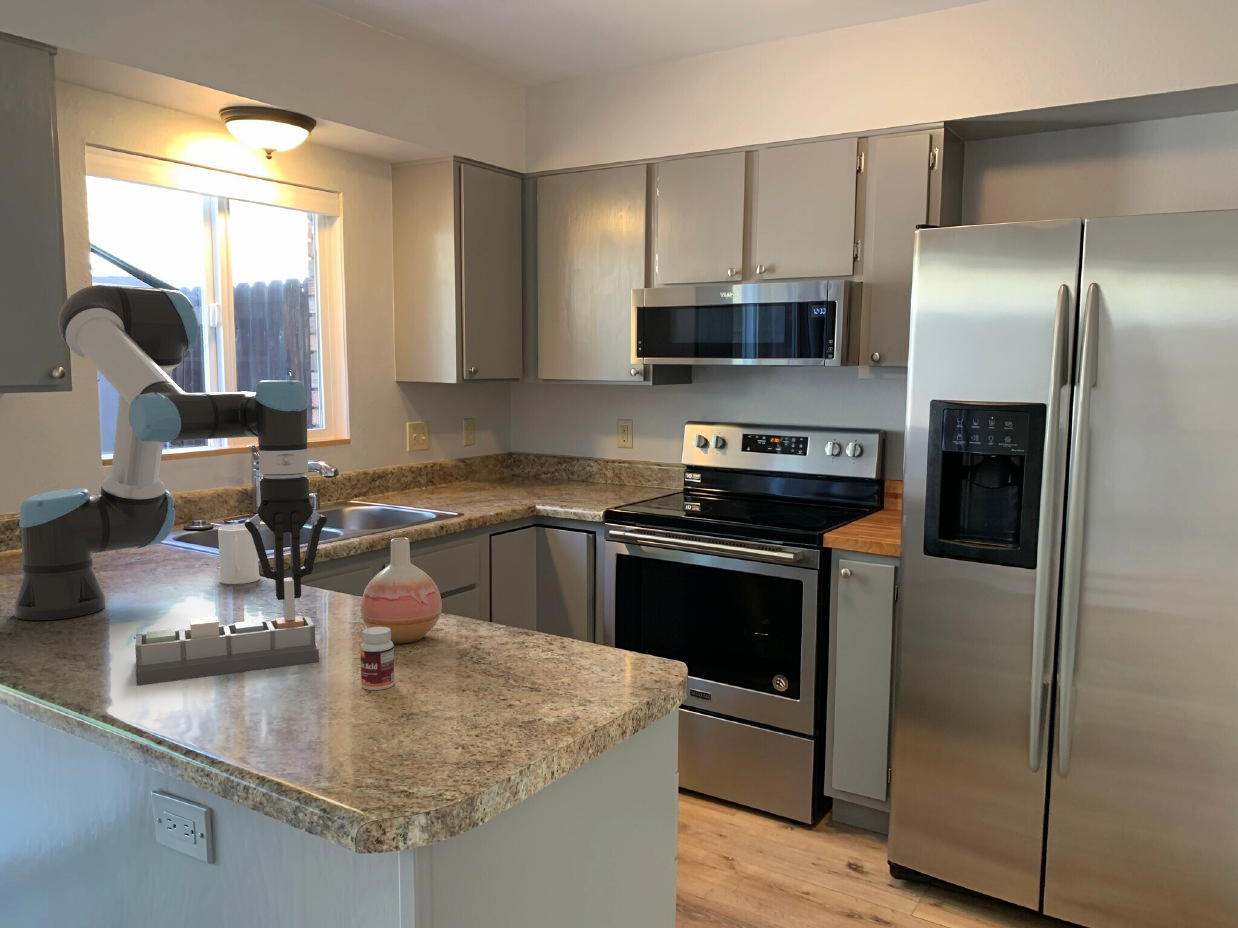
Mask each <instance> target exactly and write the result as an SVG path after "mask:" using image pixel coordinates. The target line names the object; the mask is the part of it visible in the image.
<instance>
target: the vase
mask: <svg viewBox="0 0 1238 928" xmlns="http://www.w3.org/2000/svg"><path fill="white" fill-rule="evenodd" d="M410 552H411V550H410V539H409V537H394V538H391V540H390V564H388V565H387V566H386V567H384V568H383V569H382V570H381V571H379V572H378V573H377V574H376V575H374V577H373V578H371V580H370V581H369V583H368V584H367V585H366V586H365V589H364V590H363V591H364V592H363V594H362V597H361V602H360V614H361V619H362V621H363V624H364V626H365V628H366V629H367V628H371V627H387V628H390V630H391V639H390V641H392V642H393V644H394V645H396V644H398V645H400V644H410V643H413V642H417V641H419V640H421V639H423V638H424V637H425V636H426V635H427V634H428V633H429V632H431V630H433V628H435V626H436V624H437V623H438V622H439V619H440V617H441V614H442V608H443V607H442V605H443V604H442V598H441V596H442V595H441V593H440V591H439V588H438V586H437V584H436V582H435V581H434V580H433V579H432V577H431V576H429V575H428V573H426V572H425V571H424V570H422V569H420V568H419V567H417V566H416V565H414V564H413V563H412V562H411V553H410Z"/></svg>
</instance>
